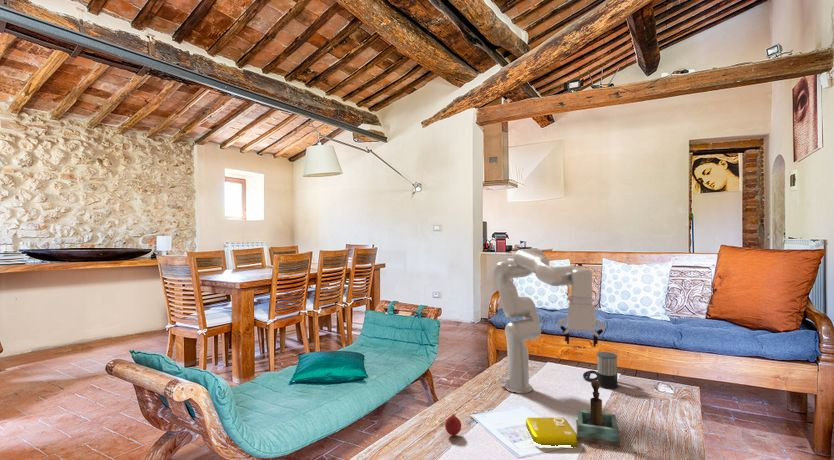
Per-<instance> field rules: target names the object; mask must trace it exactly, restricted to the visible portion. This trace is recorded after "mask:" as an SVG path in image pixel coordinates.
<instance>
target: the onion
mask: <svg viewBox="0 0 834 460" xmlns="http://www.w3.org/2000/svg"><path fill="white" fill-rule="evenodd" d="M444 427H445V430H446V432H447V433H448V434H449V436H452V437H455V436H457V435H458V434H459V433H460V432H461V430H462V423H461V420H460V419H459V418H458V417H457V416H456V414H455V413H451V415H450V416H448V418H447V419H446V420H445V423H444Z"/></svg>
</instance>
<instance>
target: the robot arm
mask: <svg viewBox="0 0 834 460" xmlns="http://www.w3.org/2000/svg"><path fill="white" fill-rule="evenodd" d="M492 273H493V279H494V283H495V285H496V287H497V290H498V294H499V298H500V302H501V307H502V310H503V313H504V316H505V317H506V318H508V319H515V318H516V319H517V318H522V319H518V320H512V321H510V322H508V323H507V324H506V325H505V328H504V334H505V335H504V336H505V340H506V348H507V349H506V351H507V354H506V355H507V377H500V376H499V377H498V382H500V384H504V389H505V388H506V389H507V390H508V392H510V391H511V392H510V393H513V392H516V393H515V394H528V392H529V393H531V392H532V391H533V386H532V384H530V376H529V375H530V373H529V372H530V371H529V368H530V367H529V362H530V361H529V349H528V346H527V345H526V343H525V342H526V341H531V340H536V339H538V338H539V337H540V336H541V334H542V329H541V328H542V327H541V326H542V325H541V323H540V318H539V314H538V311H537V307H536V304H535V302H534V300H533V299H532V298H531V297H528V296H519V294H518V289H517V286H516V285H515V283H514V282H513V281H512V280H511V279H515V278H517V279H518V278H526V277H529V276H530V275H531V274H535V276H536V277H537V279H538V280H539V281H540V282H542V283H544V284H547V285H549V286H552V287H562V286H571V287H570V288H571V289H570V291H571V293H570V296H567V297H566V299H567V301H569V304H568V308H567V317H564V318H562V319H560V320H558V321H557V325H558V327H559V328H560V330H561V331H562V332H563V333H564V334H565V335H564V341H565V342H566V344H567V345H570V331H577V332H589V333H592V334H593V341H592V342H593V347H594V348H596V345H598V344H599V343H598V342H599V341H598V340H599V336H600V335H601V334H603V332H604V330H605V329H606V327H607V325H606V324H605V323H603V322H602V321H599V320H597V319H596V309H595V305H594V304H593V272H592V270H591V269H588V268H579V267H577V266H572V265H564V266H552V265H550V260H549V259H548V257H547V256H546V255H545V253H544V252H543V250H541V249H540V248H523V249H519V250H517V251H516V252H515V253H514V255H513V260H512V259H510V260H503V261H502V260H501V261H499V262H498V263H496V264H495V265H494V268H493V271H492ZM564 323H566V324H567V325H566V326H567V327H565V326H564V325H563V324H564ZM596 325H597V326H599V329H598V330H597V329H596ZM506 389H505V390H506ZM507 390H506V391H507ZM530 391H531V392H530Z"/></svg>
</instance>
